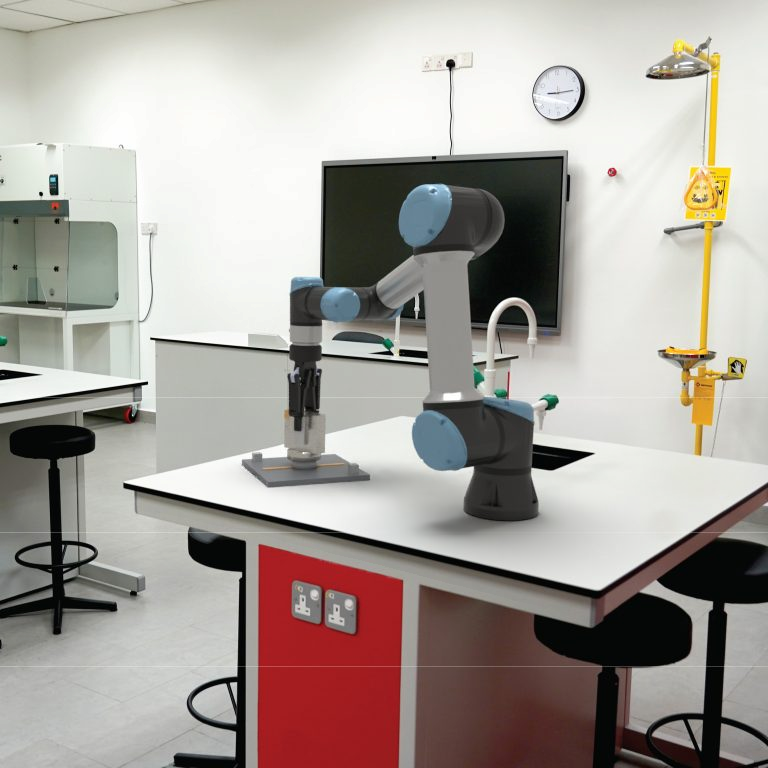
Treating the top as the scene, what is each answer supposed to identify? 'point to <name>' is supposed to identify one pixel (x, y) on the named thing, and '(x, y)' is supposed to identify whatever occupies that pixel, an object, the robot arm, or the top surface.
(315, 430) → the grey block knob
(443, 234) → the robot arm
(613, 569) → the top surface
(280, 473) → the post plate
